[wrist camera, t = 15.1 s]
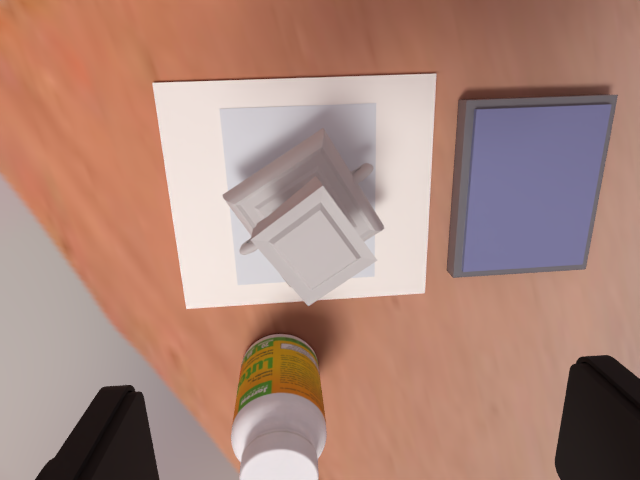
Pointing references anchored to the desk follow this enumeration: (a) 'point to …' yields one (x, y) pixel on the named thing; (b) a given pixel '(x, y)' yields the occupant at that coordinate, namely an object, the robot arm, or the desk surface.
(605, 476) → the robot arm
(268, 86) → the paper
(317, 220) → the stamp
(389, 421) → the desk surface
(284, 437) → the supplement bottle
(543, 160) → the ink pad
